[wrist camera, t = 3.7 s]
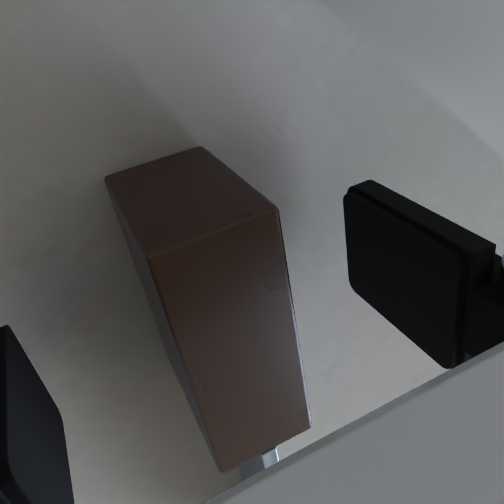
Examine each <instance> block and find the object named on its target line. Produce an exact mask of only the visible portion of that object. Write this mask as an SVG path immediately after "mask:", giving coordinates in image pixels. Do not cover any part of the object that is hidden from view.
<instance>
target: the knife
mask: <svg viewBox="0 0 504 504" xmlns="http://www.w3.org/2000/svg"><path fill="white" fill-rule="evenodd" d="M105 184H106V187H107V189H108V192H109V195H110V198H111V200H112V203H113V206H114V209H115V211H116V214H117V217H118V220H119V222H120V225H121V228H122V230H123V233H124V236H125V239H126V241H127V244H128V247H129V250H130V252H131V255H132V258H133V261H134V263H135V266H136V269H137V272H138V274H139V277H140V280H141V283H142V285H143V288H144V291H145V293H146V296H147V299H148V302H149V304H150V307H151V310H152V313H153V315H154V318H155V321H156V324H157V326H158V329H159V332H160V335H161V337H162V340H163V343H164V346H165V348H166V351H167V354H168V357H169V359H170V362H171V365H172V367H173V369H174V371H175V374H176V376H177V378H178V380H179V383H180V385H181V387H182V389H183V392H184V394H185V396H186V398H187V400H188V403H189V405H190V407H191V409H192V412H193V414H194V416H195V418H196V421H197V423H198V425H199V427H200V430H201V432H202V434H203V436H204V438H205V441H206V443H207V445H208V447H209V450H210V452H211V454H212V456H213V459H214V461H215V463H216V465H217V468H218V470H219V471H220V472H221V473H226V472H227V471H229V470H231V469H233V468H235V467H237V466H239V468H240V471H241V475H242V478H243V481H244V480H246V479H248V478H250V477H251V476H253V475H255V474H257V473H259V472H261V471H262V470H264V469H266V468H268V467H270V466H272V465H273V464H275V463H277V462H279V458H278V454H277V450H276V447H275V446H277V445H279V444H281V443H283V442H285V441H287V440H289V439H290V438H292V437H294V436H296V435H298V434H300V433H302V432H304V431H306V430H308V429H310V428H311V426H312V423H311V416H310V410H309V403H308V397H307V390H306V384H305V377H304V371H303V365H302V358H301V352H300V345H299V339H298V332H297V326H296V319H295V313H294V307H293V300H292V294H291V287H290V281H289V274H288V268H287V261H286V255H285V248H284V242H283V236H282V229H281V223H280V216H279V210H278V208H277V206H276V205H274V204H273V203H272V202H271V201H269V200H268V199H267V198H266V197H264V196H263V195H262V194H261V193H259V192H258V191H257V190H256V189H255V188H253V187H252V186H251V185H250V184H248V183H247V182H246V181H245V180H243V179H242V178H241V177H240V176H238V175H237V174H236V173H235V172H233V171H232V170H231V169H230V168H228V167H227V166H226V165H225V164H223V163H222V162H221V161H220V160H219V159H217V158H216V157H215V156H214V155H212V154H211V153H210V152H209V151H207V150H206V149H205V148H204V147H196V148H193V149H190V150H187V151H184V152H181V153H178V154H175V155H171V156H168V157H165V158H162V159H159V160H156V161H153V162H150V163H146V164H143V165H140V166H137V167H134V168H131V169H128V170H125V171H122V172H118V173H115V174H112V175H109V176H107V177H105Z"/></svg>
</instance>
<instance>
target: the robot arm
mask: <svg viewBox="0 0 504 504" xmlns="http://www.w3.org/2000/svg"><path fill="white" fill-rule="evenodd" d="M343 206H344V220H345V234H346V247H347V261H348V275H349V282H350V285H351V287H352V288H353V290H354V291H355V292H356V293H357V294H358V295H359V296H360V297H362V298H363V299H364V300H365V301H366V302H367V303H369V304H370V305H371V306H372V307H373V308H374V309H375V310H377V311H378V312H379V313H380V314H381V315H382V316H384V317H385V318H386V319H387V320H388V321H389V322H391V323H392V324H393V325H394V326H395V327H396V328H398V329H399V330H400V331H401V332H402V333H403V334H404V335H406V336H407V337H408V338H409V339H410V340H411V341H413V342H414V343H415V344H416V345H417V346H418V347H420V348H421V349H422V350H423V351H424V352H425V353H427V354H428V355H429V356H430V357H431V358H432V359H433V360H435V361H436V362H437V363H438V364H439V365H440V366H442V367H443V368H445V369H450V368H451V370H449V371H447V372H445V373H443V374H442V375H440V376H438V377H436V378H434V379H432V380H430V381H428V382H426V383H424V384H423V385H421V386H419V387H417V388H415V389H413V390H411V391H409V392H408V393H406V394H404V395H402V396H400V397H398V398H396V399H394V400H393V401H391V402H389V403H387V404H385V405H383V406H381V407H379V408H378V409H376V410H374V411H372V412H370V413H368V414H366V415H365V416H363V417H361V418H359V419H357V420H355V421H353V422H351V423H350V424H348V425H346V426H344V427H342V428H340V429H338V430H337V431H335V432H333V433H331V434H329V435H327V436H325V437H324V438H322V439H320V440H318V441H316V442H314V443H312V444H311V445H309V446H307V447H305V448H303V449H301V450H299V451H297V452H296V453H294V454H292V455H290V456H288V457H286V458H284V459H283V460H281V461H279V462H277V463H275V464H273V465H272V466H270V467H268V468H266V469H264V470H262V471H261V472H259V473H257V474H255V475H253V476H251V477H250V478H248V479H246V480H244V481H242V482H240V483H238V484H237V485H235V486H233V487H231V488H229V489H227V490H226V491H224V492H222V493H220V494H218V495H216V496H215V497H213V498H211V499H209V500H207V501H205V502H203V503H202V504H504V255H503V257H501V256H499V255H497V254H495V249H496V244H494V243H492V242H490V241H488V240H486V239H484V238H482V237H480V236H479V235H477V234H475V233H473V232H471V231H469V230H467V229H465V228H463V227H461V226H459V225H457V224H455V223H454V222H452V221H450V220H448V219H446V218H444V217H442V216H440V215H438V214H436V213H434V212H432V211H431V210H429V209H427V208H425V207H423V206H421V205H419V204H417V203H415V202H413V201H411V200H409V199H408V198H406V197H404V196H402V195H400V194H398V193H396V192H394V191H392V190H390V189H388V188H386V187H385V186H383V185H381V184H379V183H377V182H375V181H373V180H367V181H364V182H362V183H359V184H357V185H354V186H351V187H350V188H349V189H348V191H347V194H346V195H345V196H344V198H343ZM0 504H74V497H73V490H72V483H71V476H70V469H69V462H68V455H67V448H66V441H65V434H64V427H63V421H62V418H61V415H60V412H59V410H58V408H57V406H56V404H55V403H54V401H53V399H52V398H51V396H50V394H49V392H48V391H47V389H46V387H45V386H44V384H43V382H42V381H41V379H40V377H39V375H38V374H37V372H36V370H35V369H34V367H33V365H32V364H31V362H30V360H29V358H28V357H27V355H26V353H25V352H24V350H23V348H22V346H21V345H20V343H19V341H18V340H17V338H16V336H15V335H14V333H13V331H12V330H11V328H10V327H9V326H8V325H5V326H2V327H0Z"/></svg>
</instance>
